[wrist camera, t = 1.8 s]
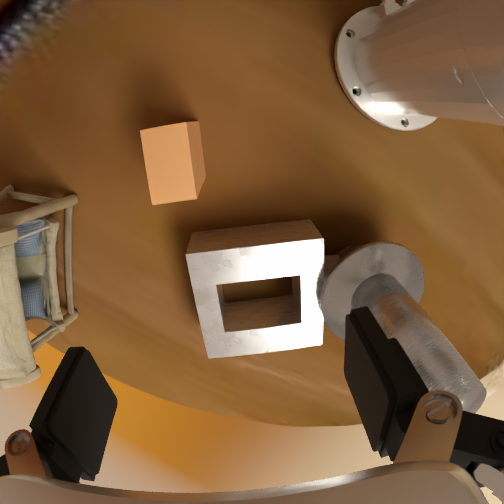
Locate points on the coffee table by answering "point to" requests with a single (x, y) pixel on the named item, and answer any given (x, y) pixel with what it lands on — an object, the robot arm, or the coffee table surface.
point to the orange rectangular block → (174, 162)
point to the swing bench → (31, 282)
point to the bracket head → (319, 298)
